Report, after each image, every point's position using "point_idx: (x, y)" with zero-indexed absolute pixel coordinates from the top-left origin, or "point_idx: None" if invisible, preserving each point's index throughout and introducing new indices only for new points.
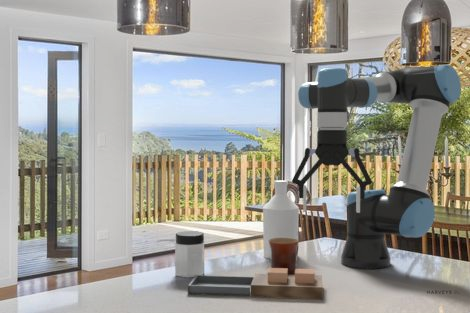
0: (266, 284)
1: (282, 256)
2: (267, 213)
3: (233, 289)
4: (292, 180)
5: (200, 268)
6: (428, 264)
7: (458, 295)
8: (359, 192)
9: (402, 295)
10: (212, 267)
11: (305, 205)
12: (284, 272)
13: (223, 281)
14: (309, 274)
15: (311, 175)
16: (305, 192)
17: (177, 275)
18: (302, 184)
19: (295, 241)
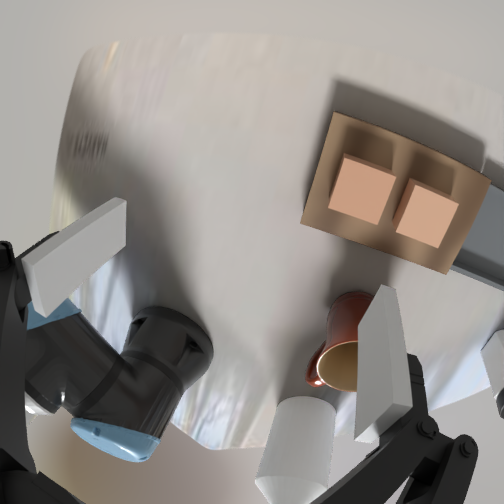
0: (460, 174)
1: None
2: (325, 478)
3: None
4: (475, 454)
5: (502, 340)
6: (85, 304)
7: (71, 122)
8: (46, 243)
9: (150, 121)
10: (451, 376)
11: (388, 307)
12: (420, 191)
13: (494, 277)
14: (358, 162)
15: (345, 484)
16: (395, 368)
17: None
18: (417, 423)
19: (322, 367)
